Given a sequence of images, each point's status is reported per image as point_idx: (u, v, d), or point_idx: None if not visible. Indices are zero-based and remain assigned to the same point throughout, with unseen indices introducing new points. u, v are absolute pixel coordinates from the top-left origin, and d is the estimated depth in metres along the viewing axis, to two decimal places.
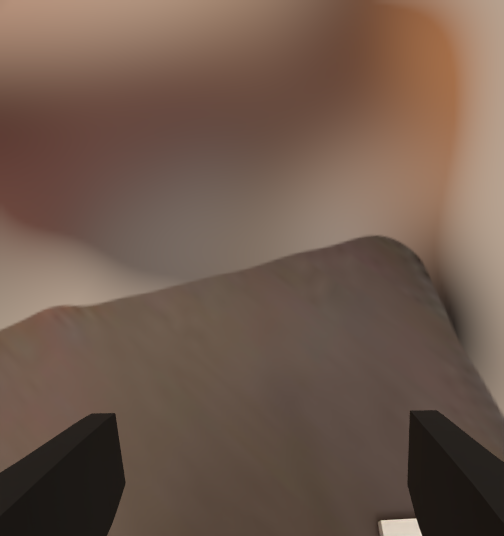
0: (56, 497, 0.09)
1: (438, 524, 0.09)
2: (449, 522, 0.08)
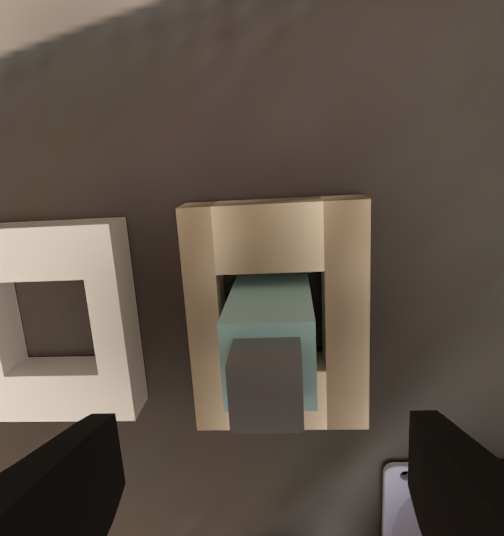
0: (56, 497, 0.09)
1: (438, 524, 0.09)
2: (449, 522, 0.08)
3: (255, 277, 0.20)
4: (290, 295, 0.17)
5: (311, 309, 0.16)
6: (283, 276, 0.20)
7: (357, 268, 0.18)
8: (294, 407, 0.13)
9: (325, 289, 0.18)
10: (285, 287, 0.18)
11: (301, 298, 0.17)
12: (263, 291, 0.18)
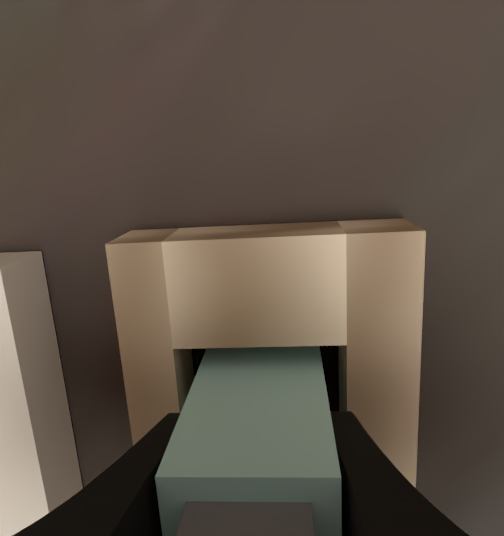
0: (156, 498, 0.08)
1: None
2: (342, 521, 0.09)
3: None
4: (292, 391, 0.10)
5: (330, 434, 0.09)
6: None
7: (400, 341, 0.11)
8: None
9: (347, 372, 0.12)
10: (284, 370, 0.11)
11: (310, 401, 0.10)
12: (248, 379, 0.11)
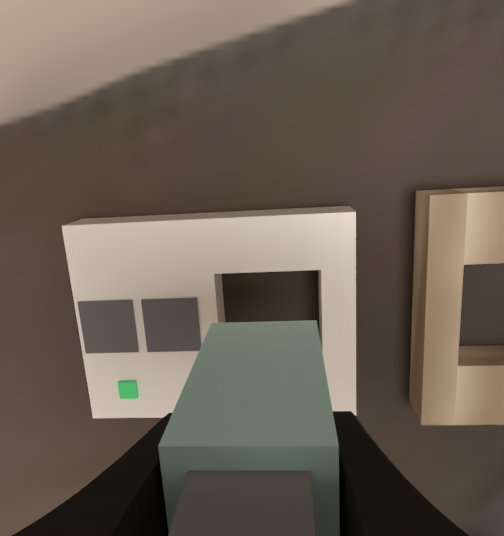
0: (156, 498, 0.08)
1: None
2: (342, 521, 0.09)
3: (238, 327, 0.13)
4: (291, 370, 0.11)
5: (328, 408, 0.09)
6: (280, 327, 0.13)
7: None
8: None
9: None
10: (283, 351, 0.12)
11: (309, 378, 0.10)
12: (249, 359, 0.11)
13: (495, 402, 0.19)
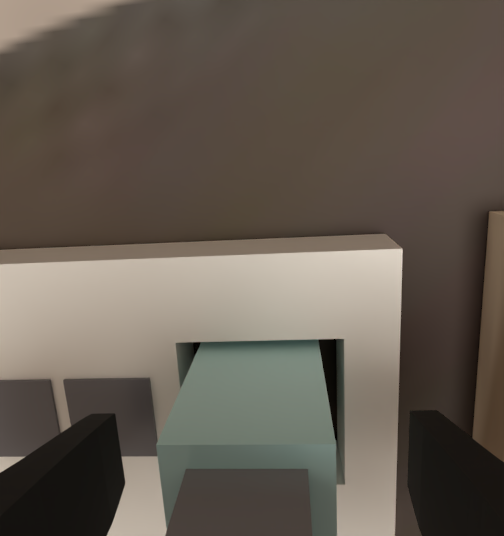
0: (56, 497, 0.09)
1: (438, 524, 0.09)
2: (449, 522, 0.08)
3: None
4: (289, 369, 0.11)
5: (326, 406, 0.09)
6: None
7: None
8: None
9: None
10: (281, 350, 0.12)
11: (307, 377, 0.10)
12: (247, 358, 0.11)
13: None
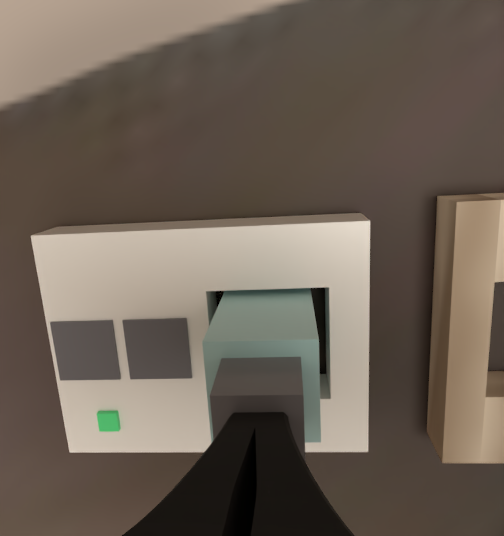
0: (241, 498, 0.08)
1: None
2: None
3: None
4: (289, 305, 0.15)
5: (313, 323, 0.13)
6: None
7: None
8: None
9: None
10: (283, 296, 0.16)
11: (301, 309, 0.15)
12: (258, 300, 0.16)
13: None
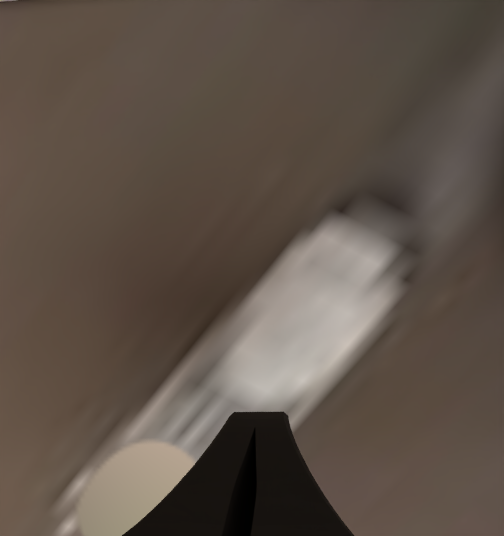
0: (241, 498, 0.08)
1: None
2: None
3: None
4: None
5: None
6: None
7: None
8: None
9: None
10: None
11: None
12: None
13: None
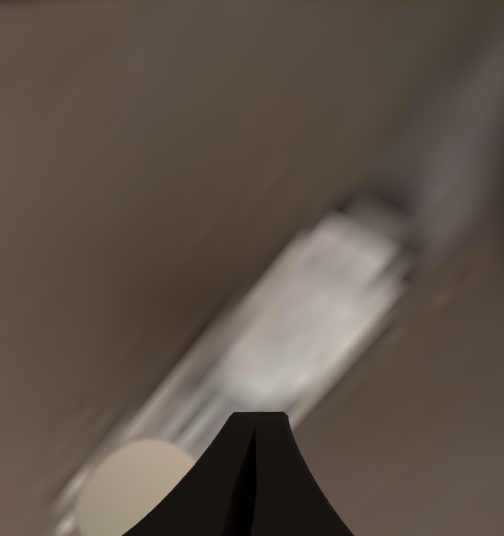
0: (241, 498, 0.08)
1: None
2: None
3: None
4: None
5: None
6: None
7: None
8: None
9: None
10: None
11: None
12: None
13: None
